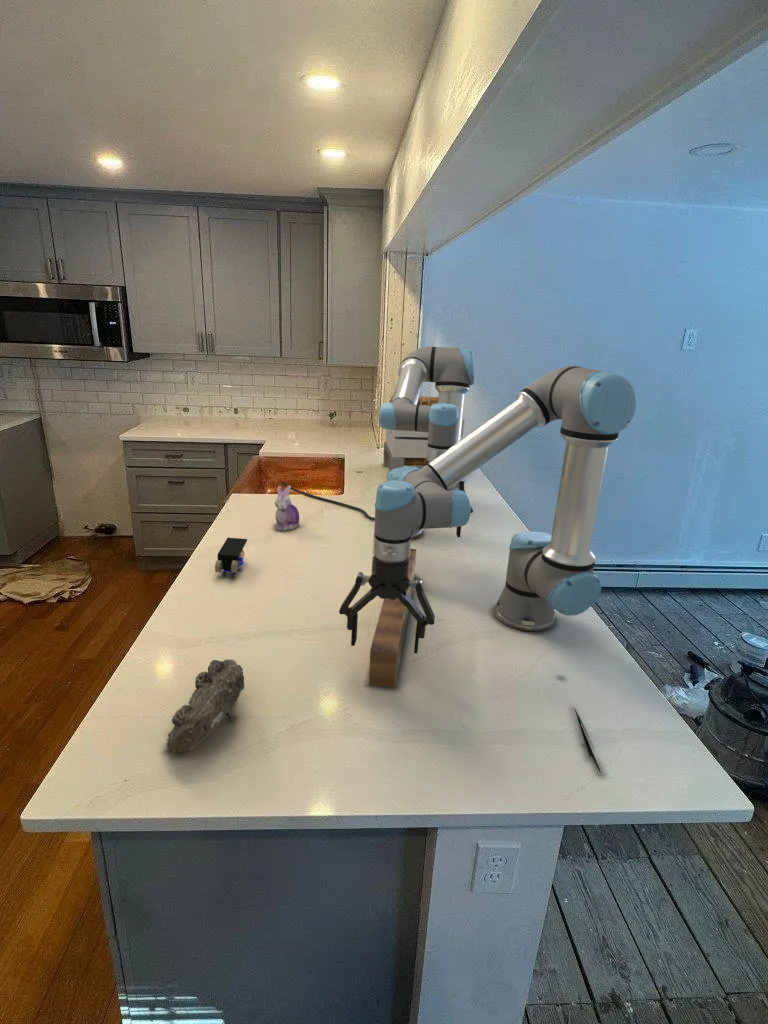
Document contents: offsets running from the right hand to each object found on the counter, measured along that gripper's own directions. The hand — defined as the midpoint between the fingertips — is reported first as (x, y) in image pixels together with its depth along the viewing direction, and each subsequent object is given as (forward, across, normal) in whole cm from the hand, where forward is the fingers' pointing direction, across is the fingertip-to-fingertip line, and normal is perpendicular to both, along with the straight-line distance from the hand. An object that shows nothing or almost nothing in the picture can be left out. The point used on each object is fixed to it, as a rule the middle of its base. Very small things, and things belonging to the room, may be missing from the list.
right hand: (384, 646), depth 123 cm
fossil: (+7, -30, -21) cm, 37 cm away
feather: (+5, +40, -10) cm, 41 cm away
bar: (+6, 0, +21) cm, 22 cm away
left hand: (-10, +8, +44) cm, 46 cm away
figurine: (+6, -45, +77) cm, 90 cm away
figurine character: (+6, -50, +40) cm, 65 cm away
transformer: (+5, -3, +160) cm, 161 cm away
